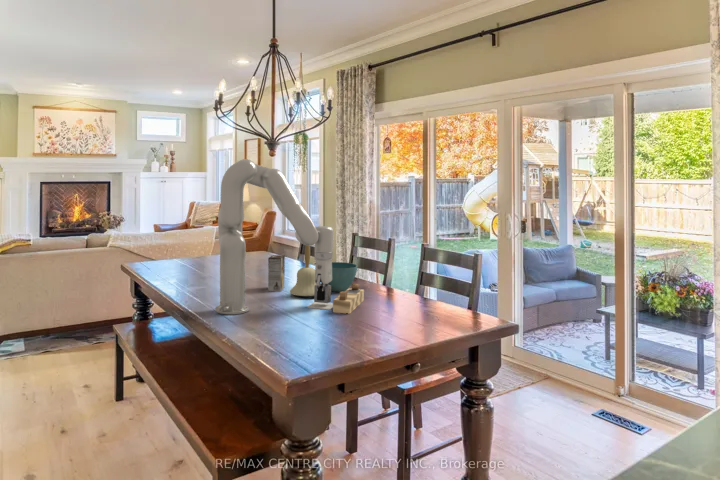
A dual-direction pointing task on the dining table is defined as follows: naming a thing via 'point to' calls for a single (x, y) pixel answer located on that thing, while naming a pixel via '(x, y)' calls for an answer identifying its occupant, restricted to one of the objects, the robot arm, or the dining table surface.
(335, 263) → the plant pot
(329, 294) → the tall grey box
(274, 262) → the coffee box
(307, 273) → the handbell
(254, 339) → the dining table surface
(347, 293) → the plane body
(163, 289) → the dining table surface
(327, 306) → the mat
